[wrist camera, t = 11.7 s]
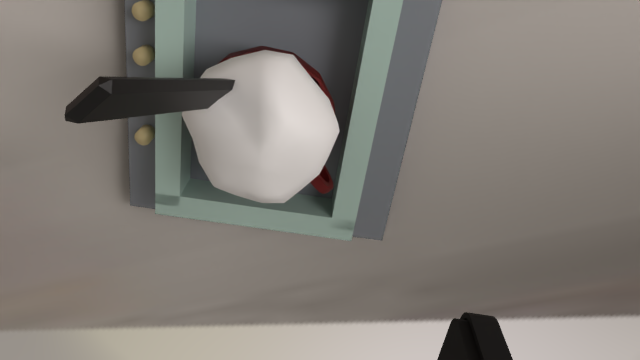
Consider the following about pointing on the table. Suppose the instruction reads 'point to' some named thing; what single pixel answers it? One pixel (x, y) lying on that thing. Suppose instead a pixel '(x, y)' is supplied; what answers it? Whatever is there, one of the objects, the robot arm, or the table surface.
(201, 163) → the cocoa
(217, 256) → the table surface
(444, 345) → the robot arm
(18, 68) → the table surface
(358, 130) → the holder board
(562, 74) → the table surface
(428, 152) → the table surface
